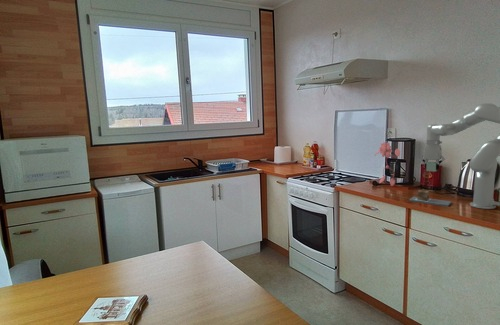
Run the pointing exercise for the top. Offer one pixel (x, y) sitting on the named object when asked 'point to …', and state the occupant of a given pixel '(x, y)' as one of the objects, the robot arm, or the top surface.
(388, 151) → the pink flower sprig
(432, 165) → the green cube
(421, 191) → the walnut cube
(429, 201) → the baseplate
